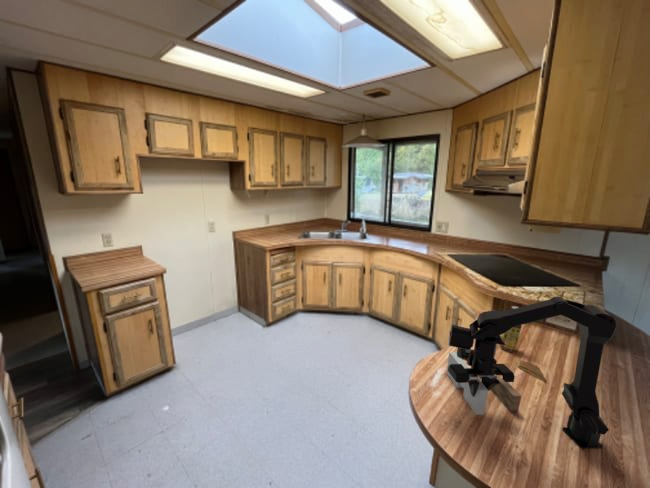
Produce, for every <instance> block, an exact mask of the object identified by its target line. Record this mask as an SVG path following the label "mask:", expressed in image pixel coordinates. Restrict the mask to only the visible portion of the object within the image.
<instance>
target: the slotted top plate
mask: <svg viewBox="0 0 650 488" xmlns="http://www.w3.org/2000/svg"><path fill="white" fill-rule="evenodd" d="M450 364H462V366H463V367H464V368H470V367H469V365H468V364H467V363H466V362H465V360H462V359H461V358H459V357H458V356H457V351H455V352H454V351H452V352H451V351H449V352H448V359H447V366H446V372H445V373H446V375H447V374H448V375H447V376H448V377H450V378H451V379H450V378H449V379H450V380H451V382H452V381H453V382H452V383H453V385H454V384H455V385H454V386H455V387H456V389H463V393H462V397H463V399H464V400H465V401H466V403H467V404H468V405H469V407H470V408H471V409H472V411H473V412H474V414H475V415H476V416H484V415H485V410H486V405H487V399H488V396H489V391H488V389H487V388H486V387H485V386H484V385H483V383H482V382H481V380H480V378H478V377H477V381H478V382H479V386H478V389H477V392H476V394H475V396H474V397H473V396H472V395H471V392H470V388H469V384H468V382H467V383H458V382H456V381H455V380H454V379H453V377H452V376H451V374H450V373H449V372H448V366H449V365H450Z"/></svg>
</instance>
